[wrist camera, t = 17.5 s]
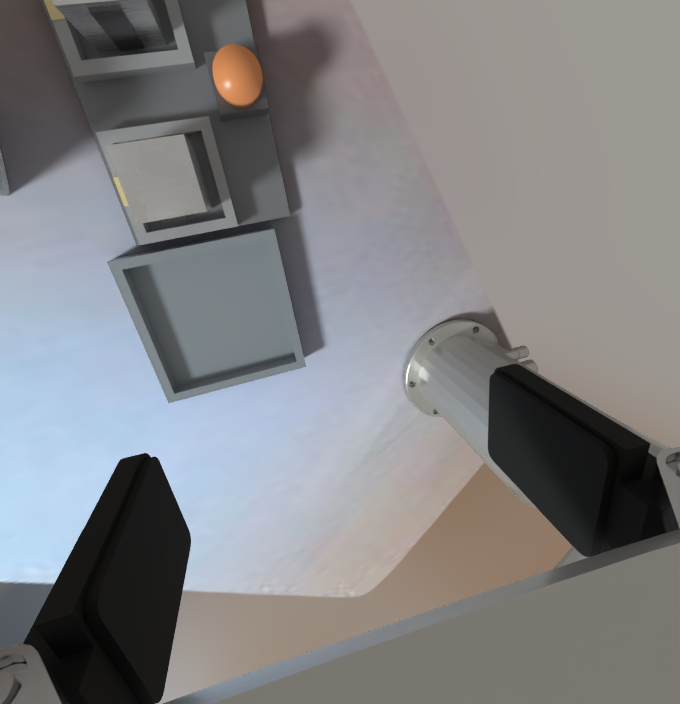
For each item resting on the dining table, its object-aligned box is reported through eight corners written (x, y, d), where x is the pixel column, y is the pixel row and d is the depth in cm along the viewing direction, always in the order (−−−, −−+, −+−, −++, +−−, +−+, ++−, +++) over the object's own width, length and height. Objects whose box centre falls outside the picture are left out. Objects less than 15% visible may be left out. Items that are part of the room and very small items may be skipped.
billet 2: (195, 147, 29) (183, 134, 22) (213, 210, 31) (207, 214, 24) (134, 156, 28) (105, 145, 22) (158, 221, 30) (137, 227, 24)
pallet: (228, -76, 25) (226, -114, 22) (288, 215, 33) (294, 217, 30) (19, -64, 23) (-15, -105, 20) (139, 244, 31) (128, 249, 28)
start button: (254, 50, 25) (255, 41, 24) (266, 104, 26) (267, 99, 25) (207, 55, 25) (205, 46, 23) (221, 111, 26) (220, 106, 25)
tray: (272, 227, 33) (274, 228, 31) (302, 358, 39) (306, 366, 37) (114, 258, 31) (107, 262, 29) (171, 393, 37) (168, 403, 35)
